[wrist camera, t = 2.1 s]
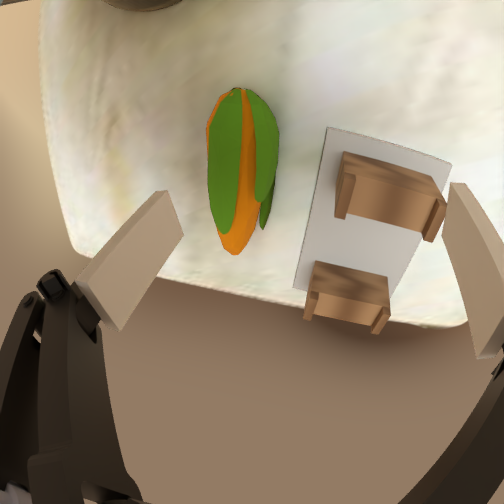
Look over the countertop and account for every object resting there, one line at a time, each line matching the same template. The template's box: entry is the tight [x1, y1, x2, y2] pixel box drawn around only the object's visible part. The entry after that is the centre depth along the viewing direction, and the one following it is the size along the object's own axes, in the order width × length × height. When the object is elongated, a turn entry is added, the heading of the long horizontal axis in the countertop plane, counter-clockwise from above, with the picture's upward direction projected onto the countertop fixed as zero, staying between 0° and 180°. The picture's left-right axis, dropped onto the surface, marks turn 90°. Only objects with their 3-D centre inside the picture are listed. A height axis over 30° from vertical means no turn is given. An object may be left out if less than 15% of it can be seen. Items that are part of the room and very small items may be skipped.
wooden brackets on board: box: [303, 151, 447, 335], centre depth 31 cm, size 10×19×7 cm, turn 175°
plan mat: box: [293, 127, 452, 299], centre depth 34 cm, size 14×23×1 cm, turn 175°
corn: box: [206, 88, 279, 255], centre depth 30 cm, size 7×8×20 cm
